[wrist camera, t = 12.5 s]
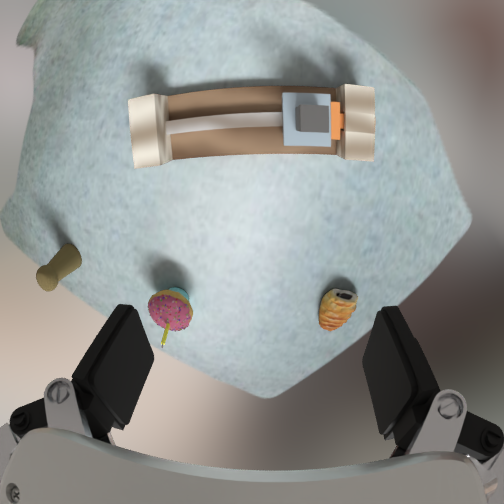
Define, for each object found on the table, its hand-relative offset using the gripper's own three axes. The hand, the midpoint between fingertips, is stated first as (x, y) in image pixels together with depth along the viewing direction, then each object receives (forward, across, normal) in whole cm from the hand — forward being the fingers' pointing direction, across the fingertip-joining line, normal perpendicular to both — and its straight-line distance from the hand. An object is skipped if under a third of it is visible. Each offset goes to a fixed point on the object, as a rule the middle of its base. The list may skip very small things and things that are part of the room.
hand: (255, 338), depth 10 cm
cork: (+34, +42, +14) cm, 56 cm away
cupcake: (+34, +18, +23) cm, 44 cm away
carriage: (+31, -5, -8) cm, 33 cm away
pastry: (+34, -13, +25) cm, 44 cm away
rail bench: (+33, +2, -8) cm, 34 cm away
